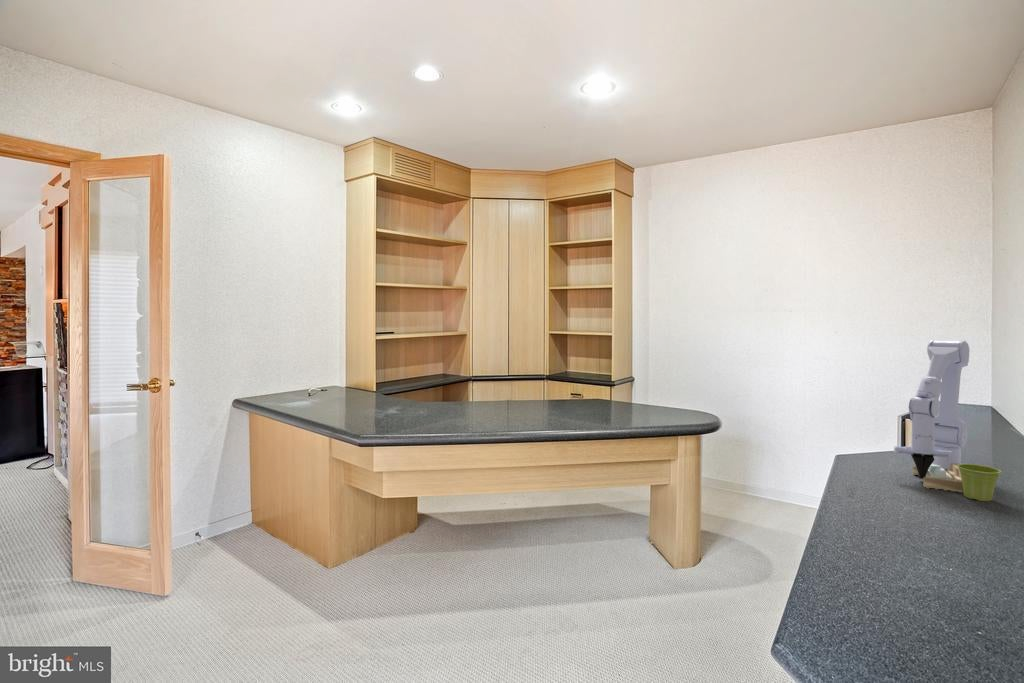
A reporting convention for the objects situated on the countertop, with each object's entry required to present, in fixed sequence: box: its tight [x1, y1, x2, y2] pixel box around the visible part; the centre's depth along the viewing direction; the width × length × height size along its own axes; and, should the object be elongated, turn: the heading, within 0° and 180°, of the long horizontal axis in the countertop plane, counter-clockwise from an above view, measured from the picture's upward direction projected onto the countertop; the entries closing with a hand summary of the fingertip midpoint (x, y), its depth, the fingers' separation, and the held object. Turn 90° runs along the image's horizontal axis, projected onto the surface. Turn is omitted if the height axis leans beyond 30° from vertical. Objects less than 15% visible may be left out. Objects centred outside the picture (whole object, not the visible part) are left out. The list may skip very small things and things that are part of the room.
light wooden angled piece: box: [912, 463, 963, 493], centre depth 168 cm, size 16×13×5 cm
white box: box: [926, 464, 953, 480], centre depth 168 cm, size 12×5×5 cm, turn 153°
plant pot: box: [957, 463, 1002, 502], centre depth 154 cm, size 9×9×9 cm
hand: (921, 478), depth 170 cm, fingers closed
